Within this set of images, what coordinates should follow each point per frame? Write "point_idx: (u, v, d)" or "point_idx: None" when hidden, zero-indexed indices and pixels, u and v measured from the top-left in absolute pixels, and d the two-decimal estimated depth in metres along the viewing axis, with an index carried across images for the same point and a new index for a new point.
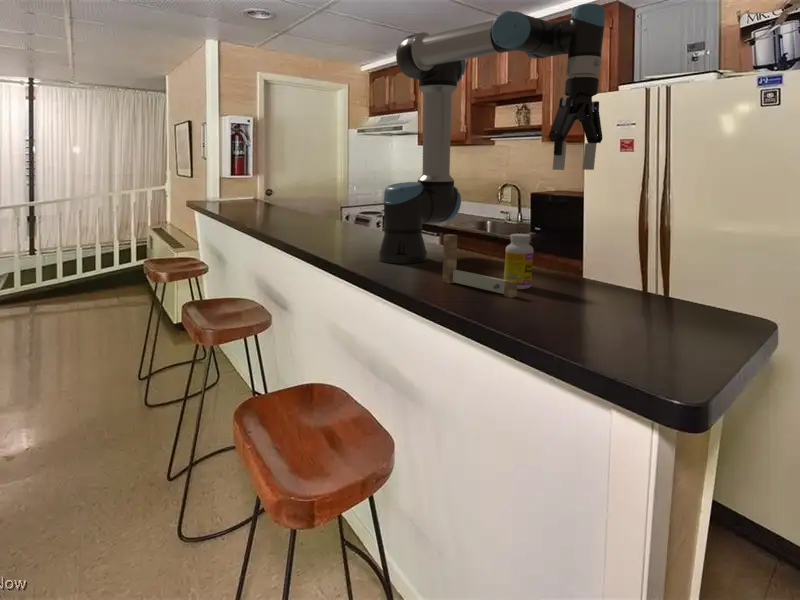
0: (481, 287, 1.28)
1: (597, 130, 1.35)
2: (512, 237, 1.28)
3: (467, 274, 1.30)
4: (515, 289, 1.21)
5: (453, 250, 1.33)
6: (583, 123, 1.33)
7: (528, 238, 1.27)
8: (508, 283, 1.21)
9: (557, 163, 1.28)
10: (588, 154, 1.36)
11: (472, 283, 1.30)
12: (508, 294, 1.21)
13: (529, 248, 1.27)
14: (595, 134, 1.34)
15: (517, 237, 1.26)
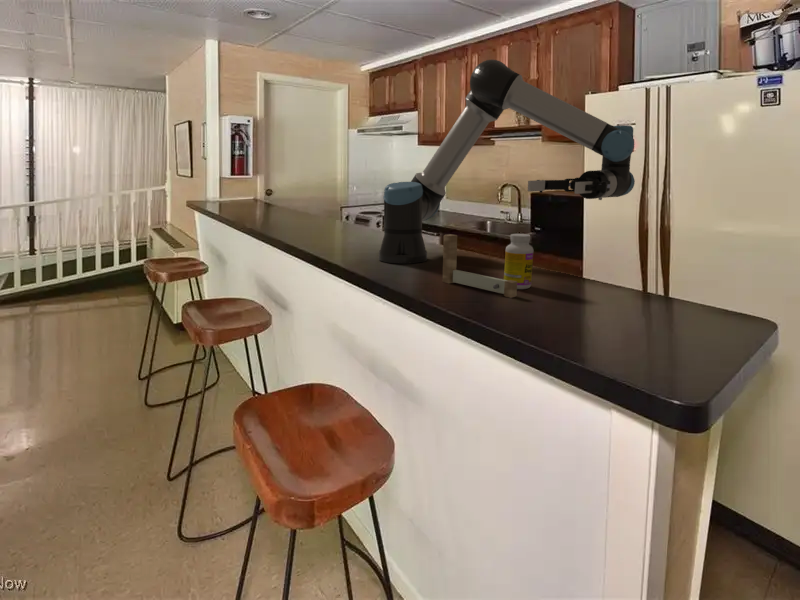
0: (481, 287, 1.28)
1: None
2: (512, 237, 1.28)
3: (467, 274, 1.30)
4: (515, 289, 1.21)
5: (453, 250, 1.33)
6: (564, 182, 1.42)
7: (528, 238, 1.27)
8: (508, 283, 1.21)
9: (581, 187, 1.29)
10: (538, 185, 1.40)
11: (472, 283, 1.30)
12: (508, 294, 1.21)
13: (529, 248, 1.27)
14: (548, 189, 1.43)
15: (517, 237, 1.26)
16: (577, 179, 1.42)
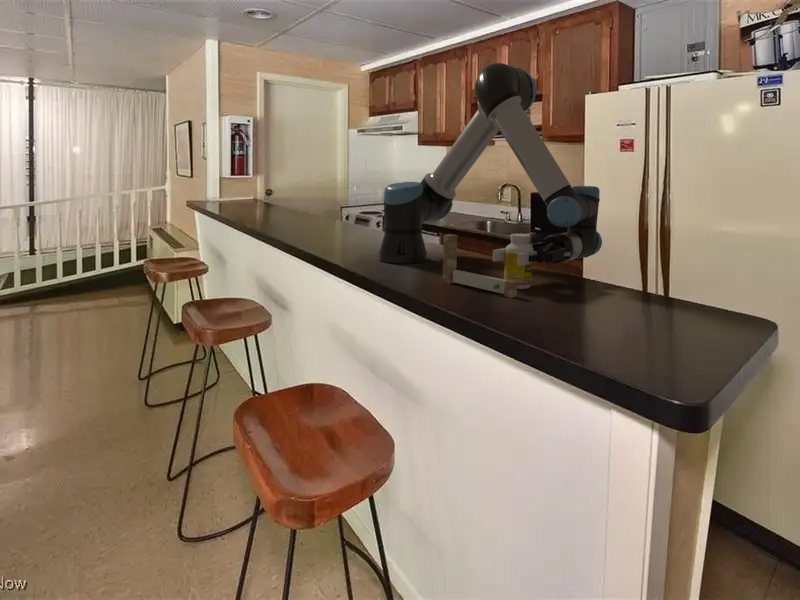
0: (481, 287, 1.28)
1: None
2: (512, 237, 1.28)
3: (467, 274, 1.30)
4: (515, 289, 1.21)
5: (453, 250, 1.33)
6: None
7: (528, 238, 1.27)
8: (508, 283, 1.21)
9: (523, 258, 1.24)
10: (504, 253, 1.31)
11: (472, 283, 1.30)
12: (508, 294, 1.21)
13: (529, 247, 1.27)
14: None
15: (517, 237, 1.26)
16: (541, 244, 1.37)
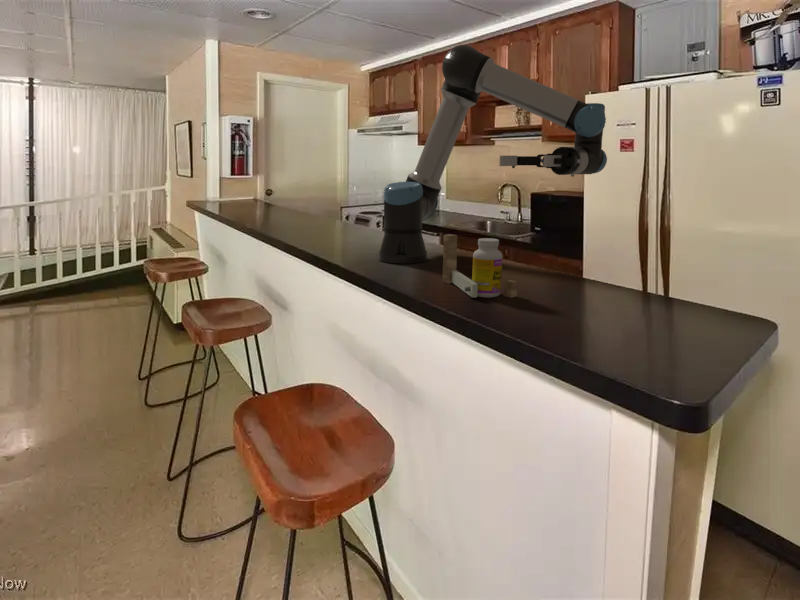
0: (462, 289, 1.26)
1: None
2: (479, 242, 1.20)
3: (457, 275, 1.30)
4: (515, 289, 1.21)
5: (453, 250, 1.33)
6: (536, 158, 1.45)
7: (496, 243, 1.19)
8: (508, 283, 1.21)
9: (549, 160, 1.32)
10: (510, 160, 1.43)
11: (459, 284, 1.28)
12: (508, 294, 1.21)
13: (498, 253, 1.19)
14: None
15: (485, 242, 1.19)
16: (549, 155, 1.45)
